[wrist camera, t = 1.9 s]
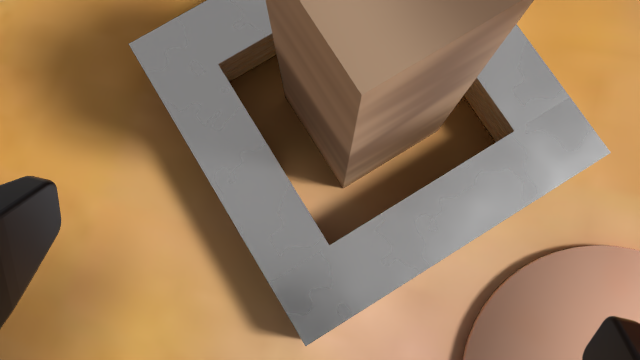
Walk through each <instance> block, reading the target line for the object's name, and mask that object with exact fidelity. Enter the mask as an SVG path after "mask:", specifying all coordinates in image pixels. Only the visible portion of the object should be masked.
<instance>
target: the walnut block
mask: <svg viewBox="0 0 640 360" xmlns="http://www.w3.org/2000/svg"><path fill="white" fill-rule="evenodd" d="M533 1H534V0H266V5H267V10H268V15H269V20H270V25H271V30H272V34H273V39H274V44H275V49H276V54H277V59H278V64H279V69H280V73H281V78H282V83H283V88H284V93H285V97H286V99H287V100H288V102H289V103H290V105H291V107H292V108H293V110H294V111H295V113H296V114H297V116H298V118H299V119H300V121H301V122H302V124H303V126H304V127H305V129H306V130H307V132H308V133H309V135H310V137H311V138H312V140H313V141H314V143H315V145H316V146H317V148H318V149H319V151H320V152H321V154H322V156H323V157H324V159H325V160H326V162H327V164H328V165H329V167H330V168H331V170H332V171H333V173H334V175H335V176H336V178H337V179H338V181H339V183H340V184H341V186H342V187H343V188H345V187H346V186H348V185H349V184H351V183H353V182H354V181H356V180H358V179H359V178H361V177H363V176H364V175H366V174H368V173H369V172H371V171H372V170H374V169H376V168H377V167H379V166H381V165H382V164H384V163H386V162H387V161H389V160H391V159H392V158H394V157H395V156H397V155H399V154H400V153H402V152H404V151H405V150H407V149H409V148H410V147H412V146H414V145H415V144H417V143H418V142H420V141H422V140H423V139H425V138H427V137H428V136H430V135H432V134H433V133H435V132H437V131H438V129H439V128H440V127H441V125H442V124H443V123H444V121H445V120H446V119H447V117H448V116H449V114H450V113H451V112H452V110H453V109H454V108H455V106H456V105H457V104H458V102H459V101H460V100H461V98H462V97H463V95H464V94H465V93H466V91H467V90H468V89H469V87H470V86H471V85H472V83H473V82H474V81H475V79H476V78H477V76H478V75H479V74H480V72H481V71H482V70H483V68H484V67H485V66H486V64H487V63H488V62H489V60H490V59H491V57H492V56H493V55H494V53H495V52H496V51H497V49H498V48H499V47H500V45H501V44H502V43H503V41H504V40H505V39H506V37H507V36H508V34H509V33H510V32H511V30H512V29H513V28H514V26H515V25H516V24H517V22H518V21H519V20H520V18H521V17H522V15H523V14H524V13H525V11H526V10H527V9H528V7H529V6H530V5H531V3H532V2H533Z"/></svg>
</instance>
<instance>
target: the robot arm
mask: <svg viewBox="0 0 640 360" xmlns="http://www.w3.org/2000/svg"><path fill="white" fill-rule="evenodd" d="M60 226H61V214H60V207H59V200H58V193H57V187H56V185H55V183H54V182H52V181H51V180H47V179H43V178H39V177H35V176H25V177H22V178H19V179H16V180H14V181H11V182H8V183H5V184H2V185H0V328H1V327H2V326H3V324H4V323H5V321H6V320H7V319H8V317H9V316H10V314H11V313H12V311H13V310H14V308H15V307H16V305H17V303H18V302H19V300H20V299H21V297H22V295H23V293H24V292H25V290H26V288H27V287H28V285H29V283H30V281H31V280H32V278H33V276H34V274H35V273H36V271H37V269H38V267H39V266H40V264H41V262H42V261H43V259H44V257H45V255H46V254H47V252H48V250H49V248H50V247H51V245H52V243H53V242H54V240H55V238H56V236H57V234H58V232H59V230H60ZM582 360H640V323H638V322H636V321H634V320H630V319H625V318H621V317H617V316H609V317H607V318H606V319H605V320H604V321H603V322H602V324H601V325H600V327H599V328H598V330H597V331H596V333H595V334H594V335H593V337H592V338H591V340H590V341H589V343H588V344H587V346H586V347H585V350H584V352H583V356H582Z"/></svg>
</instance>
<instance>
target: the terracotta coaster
mask: <svg viewBox="0 0 640 360" xmlns="http://www.w3.org/2000/svg"><path fill="white" fill-rule="evenodd" d="M609 316H617V317H621V318H625V319H630V320H634V321H636V322H638V323H640V251H638V250H635V249H630V248H624V247H618V246H600V245H594V246H584V247H575V248H570V249H565V250H561V251H557V252H553V253H551V254H548V255H546V256H543V257H540V258H538V259H536V260H534V261H532V262H531V263H529V264H527V265H525V266H523V267H522V268H520V269H519V270H518V271H516V272H515V273H514V274H512V275H511V276H510V277H508V278H507V279H506V280H505V281H504V282H503V283H502V284H501V285H500V286H499V287H498V288H497V289H496V290H495V291H494V292H493V294H492V295H491V296H490V298H489V299H488V300H487V302H486V303H485V304H484V306H483V307H482V309H481V311H480V313H479V314H478V316H477V318H476V320H475V322H474V324H473V326H472V329H471V331H470V334H469V336H468V339H467V342H466V346H465V350H464V354H463V358H462V360H582V356H583V352H584V350H585V347H586V346H587V344H588V343H589V341H590V340H591V338H592V337H593V335H594V334H595V333H596V331H597V330H598V328H599V327H600V325H601V324H602V322H603V321H604V320H605V319H606V318H607V317H609Z"/></svg>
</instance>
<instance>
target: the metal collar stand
mask: <svg viewBox="0 0 640 360" xmlns="http://www.w3.org/2000/svg"><path fill="white" fill-rule="evenodd" d="M129 46H130V47H131V49H132V51H133V52H134V54H135V56H136V57H137V59H138V61H139V63H140V64H141V66H142V68H143V69H144V71H145V73H146V75H147V76H148V78H149V80H150V81H151V83H152V85H153V86H154V88H155V90H156V92H157V93H158V95H159V97H160V98H161V100H162V102H163V104H164V105H165V107H166V109H167V110H168V112H169V114H170V116H171V117H172V119H173V121H174V122H175V124H176V126H177V127H178V129H179V131H180V133H181V134H182V136H183V138H184V139H185V141H186V143H187V145H188V146H189V148H190V150H191V151H192V153H193V155H194V157H195V158H196V160H197V162H198V163H199V165H200V167H201V168H202V170H203V172H204V174H205V175H206V177H207V179H208V180H209V182H210V184H211V186H212V187H213V189H214V191H215V192H216V194H217V196H218V197H219V199H220V201H221V203H222V204H223V206H224V208H225V209H226V211H227V213H228V215H229V216H230V218H231V220H232V221H233V223H234V225H235V227H236V228H237V230H238V232H239V233H240V235H241V237H242V238H243V240H244V242H245V244H246V245H247V247H248V249H249V250H250V252H251V254H252V256H253V257H254V259H255V261H256V262H257V264H258V266H259V267H260V269H261V271H262V273H263V274H264V276H265V278H266V279H267V281H268V283H269V285H270V286H271V288H272V290H273V291H274V293H275V295H276V297H277V298H278V300H279V302H280V303H281V305H282V307H283V308H284V310H285V312H286V314H287V315H288V317H289V319H290V320H291V322H292V324H293V326H294V327H295V329H296V331H297V332H298V334H299V336H300V338H301V339H302V341H303V343H304V344H305V346H307V345H308V344H310V343H312V342H313V341H315V340H316V339H318V338H319V337H321V336H323V335H324V334H326V333H327V332H329V331H330V330H332V329H334V328H335V327H337V326H338V325H340V324H342V323H343V322H345V321H346V320H348V319H349V318H351V317H353V316H354V315H356V314H357V313H359V312H360V311H362V310H364V309H365V308H367V307H368V306H370V305H371V304H373V303H375V302H376V301H378V300H379V299H381V298H382V297H384V296H386V295H387V294H389V293H390V292H392V291H394V290H395V289H397V288H398V287H400V286H401V285H403V284H405V283H406V282H408V281H409V280H411V279H412V278H414V277H416V276H417V275H419V274H420V273H422V272H423V271H425V270H427V269H428V268H430V267H431V266H433V265H434V264H436V263H438V262H439V261H441V260H442V259H444V258H446V257H447V256H449V255H450V254H452V253H453V252H455V251H457V250H458V249H460V248H461V247H463V246H464V245H466V244H468V243H469V242H471V241H472V240H474V239H475V238H477V237H479V236H480V235H482V234H483V233H485V232H486V231H488V230H490V229H491V228H493V227H494V226H496V225H498V224H499V223H501V222H502V221H504V220H505V219H507V218H509V217H510V216H512V215H513V214H515V213H516V212H518V211H520V210H521V209H523V208H524V207H526V206H527V205H529V204H531V203H532V202H534V201H535V200H537V199H538V198H540V197H542V196H543V195H545V194H546V193H548V192H550V191H551V190H553V189H554V188H556V187H557V186H559V185H561V184H562V183H564V182H565V181H567V180H568V179H570V178H572V177H573V176H575V175H576V174H578V173H579V172H581V171H583V170H584V169H586V168H587V167H589V166H590V165H592V164H594V163H595V162H597V161H598V160H600V159H602V158H603V157H605V156H606V155H608V154H609V153H611V152H610V151H609V150H608V148H607V147H606V146H605V144H604V143H603V142H602V140H601V139H600V137H599V136H598V135H597V133H596V132H595V131H594V129H593V128H592V127H591V125H590V124H589V122H588V121H587V120H586V118H585V117H584V116H583V114H582V113H581V112H580V110H579V109H578V107H577V106H576V105H575V103H574V102H573V101H572V99H571V98H570V97H569V95H568V94H567V92H566V91H565V90H564V88H563V87H562V86H561V84H560V83H559V82H558V80H557V79H556V77H555V76H554V75H553V73H552V72H551V71H550V69H549V68H548V67H547V65H546V64H545V63H544V61H543V60H542V58H541V57H540V56H539V54H538V53H537V52H536V50H535V49H534V48H533V46H532V45H531V43H530V42H529V41H528V39H527V38H526V37H525V35H524V34H523V33H522V31H521V30H520V28H519V27H518V26H517V24H516V25H515V26H514V28H513V29H512V30H511V32H510V33H509V34H508V36H507V37H506V39H505V40H504V41H503V43H502V44H501V45H500V47H499V48H498V49H497V51H496V52H495V53H494V55H493V56H492V57H491V59H490V60H489V62H488V63H487V64H486V66H485V67H484V68H483V70H482V71H481V72H480V74H479V75H478V76H477V78H476V79H475V81H474V82H473V83H472V85H471V86H470V87H469V89H468V90H467V91H466V93H465V94H464V97H465V98H466V100H467V101H468V103H469V104H470V105H471V107H472V108H473V110H474V111H475V113H476V114H477V115H478V117H479V118H480V120H481V121H482V123H483V124H484V126H485V127H486V128H487V130H488V131H489V133H490V134H491V136H492V137H493V138H494V140H495V141H496V143H494V144H493V145H491V146H490V147H488V148H486V149H485V150H483V151H481V152H480V153H478V154H477V155H475V156H473V157H472V158H470V159H468V160H467V161H465V162H464V163H462V164H460V165H459V166H457V167H456V168H454V169H452V170H451V171H449V172H447V173H446V174H444V175H443V176H441V177H439V178H438V179H436V180H434V181H433V182H431V183H430V184H428V185H426V186H425V187H423V188H422V189H420V190H418V191H417V192H415V193H413V194H412V195H410V196H409V197H407V198H405V199H404V200H402V201H401V202H399V203H397V204H396V205H394V206H392V207H391V208H389V209H388V210H386V211H384V212H383V213H381V214H379V215H378V216H376V217H375V218H373V219H371V220H370V221H368V222H367V223H365V224H363V225H362V226H360V227H358V228H357V229H355V230H354V231H352V232H350V233H349V234H347V235H345V236H344V237H342V238H341V239H339V240H337V241H336V242H334V243H333V244H331V245H329V244H328V242H327V241H326V239H325V238H324V236H323V234H322V233H321V231H320V229H319V228H318V226H317V225H316V223H315V221H314V220H313V218H312V216H311V215H310V213H309V211H308V210H307V208H306V207H305V205H304V203H303V202H302V200H301V198H300V197H299V195H298V194H297V192H296V190H295V189H294V187H293V185H292V184H291V182H290V181H289V179H288V177H287V176H286V174H285V172H284V171H283V169H282V168H281V166H280V164H279V163H278V161H277V159H276V158H275V156H274V154H273V153H272V151H271V150H270V148H269V146H268V145H267V143H266V141H265V140H264V138H263V137H262V135H261V133H260V132H259V130H258V128H257V127H256V125H255V124H254V122H253V120H252V119H251V117H250V115H249V114H248V112H247V111H246V109H245V107H244V106H243V104H242V102H241V101H240V99H239V97H238V96H237V94H236V93H235V91H234V89H233V88H232V86H231V84H230V83H229V82H230V81H232V80H233V79H235V78H237V77H239V76H240V75H242V74H244V73H246V72H247V71H249V70H251V69H253V68H254V67H256V66H258V65H260V64H261V63H263V62H265V61H267V60H268V59H270V58H272V57H273V56H275V55H277V54H276V49H275V44H274V39H273V34H272V30H271V25H270V20H269V15H268V10H267V5H266V0H207V1H205V2H203V3H201V4H200V5H198V6H196V7H194V8H192V9H191V10H189V11H187V12H185V13H183V14H182V15H180V16H178V17H176V18H174V19H173V20H171V21H169V22H167V23H165V24H164V25H162V26H160V27H158V28H156V29H155V30H153V31H151V32H149V33H147V34H146V35H144V36H142V37H140V38H138V39H137V40H135V41H133V42H131V43H129Z"/></svg>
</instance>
